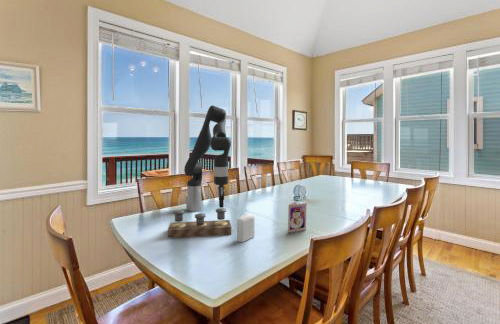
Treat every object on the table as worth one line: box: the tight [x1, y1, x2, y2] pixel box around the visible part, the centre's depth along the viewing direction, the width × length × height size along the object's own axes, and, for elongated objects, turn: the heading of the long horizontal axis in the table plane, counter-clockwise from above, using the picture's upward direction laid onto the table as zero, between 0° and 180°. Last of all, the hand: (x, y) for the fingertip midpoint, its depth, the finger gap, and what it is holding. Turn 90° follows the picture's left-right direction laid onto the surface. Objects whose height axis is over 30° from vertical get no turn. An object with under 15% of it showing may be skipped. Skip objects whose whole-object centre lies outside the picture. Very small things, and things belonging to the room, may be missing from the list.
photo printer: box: [236, 213, 256, 243], centre depth 132 cm, size 10×4×12 cm, turn 140°
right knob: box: [215, 207, 227, 220], centre depth 143 cm, size 6×6×5 cm
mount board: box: [167, 219, 232, 239], centre depth 141 cm, size 32×12×4 cm, turn 100°
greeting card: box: [287, 200, 307, 234], centre depth 146 cm, size 11×7×15 cm, turn 114°
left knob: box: [172, 209, 185, 222], centre depth 139 cm, size 6×6×5 cm
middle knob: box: [194, 213, 207, 225], centre depth 141 cm, size 6×6×5 cm
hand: (221, 207), depth 142 cm, fingers closed
